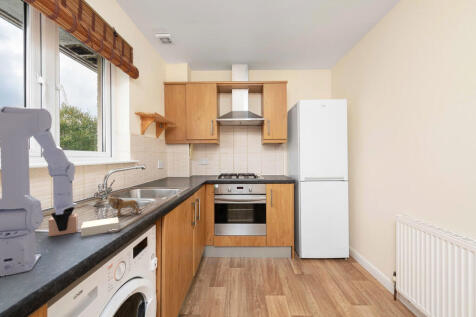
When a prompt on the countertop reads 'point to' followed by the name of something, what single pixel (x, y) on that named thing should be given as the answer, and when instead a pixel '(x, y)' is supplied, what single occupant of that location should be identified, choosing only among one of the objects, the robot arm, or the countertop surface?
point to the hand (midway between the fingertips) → (64, 228)
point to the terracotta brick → (71, 226)
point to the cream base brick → (99, 226)
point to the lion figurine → (122, 204)
